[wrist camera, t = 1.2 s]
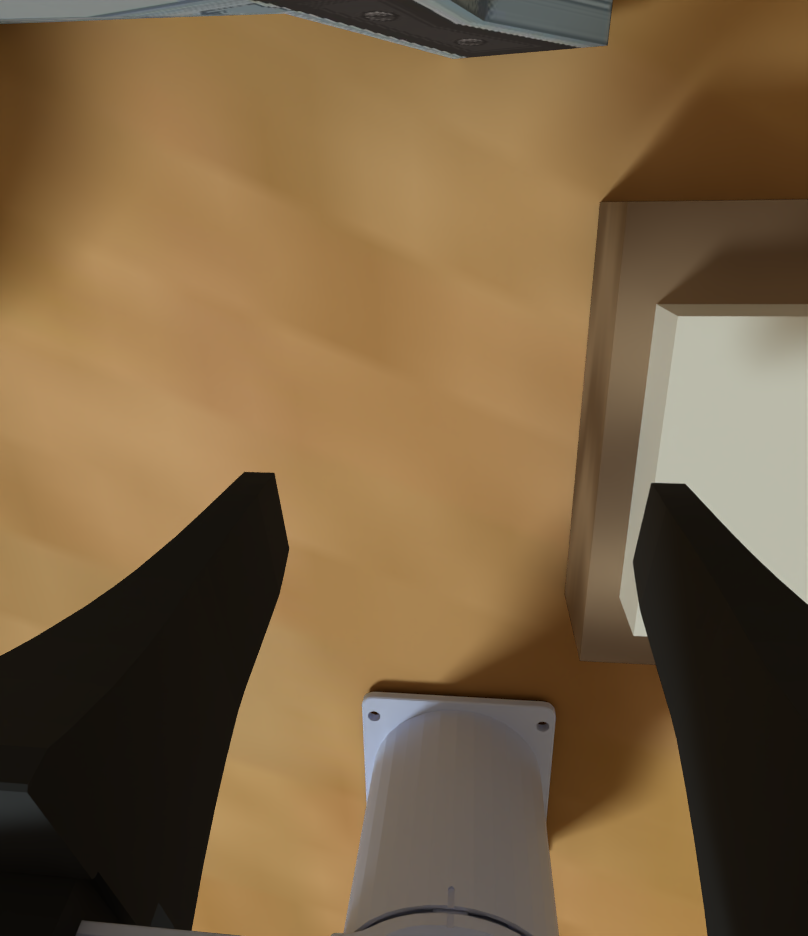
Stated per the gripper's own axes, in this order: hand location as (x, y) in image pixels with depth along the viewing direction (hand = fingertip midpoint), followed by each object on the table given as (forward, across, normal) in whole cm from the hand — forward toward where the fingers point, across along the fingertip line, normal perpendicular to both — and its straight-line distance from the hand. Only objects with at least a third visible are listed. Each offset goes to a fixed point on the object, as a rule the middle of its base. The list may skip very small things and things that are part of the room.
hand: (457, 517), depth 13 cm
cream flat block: (+6, -8, +3) cm, 10 cm away
